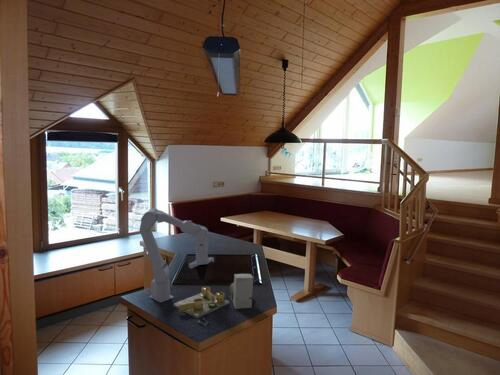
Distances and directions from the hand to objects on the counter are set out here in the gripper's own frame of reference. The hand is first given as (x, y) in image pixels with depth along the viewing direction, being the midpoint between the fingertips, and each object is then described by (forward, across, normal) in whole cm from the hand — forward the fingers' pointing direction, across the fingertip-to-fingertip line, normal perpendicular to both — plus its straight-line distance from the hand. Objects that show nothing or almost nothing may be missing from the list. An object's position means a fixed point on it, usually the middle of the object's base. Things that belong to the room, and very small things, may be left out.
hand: (201, 278), depth 174 cm
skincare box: (+10, +8, -20) cm, 24 cm away
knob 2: (+8, 0, -5) cm, 10 cm away
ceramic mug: (+10, +12, -13) cm, 21 cm away
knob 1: (+8, -13, -8) cm, 17 cm away
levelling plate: (+10, -5, -6) cm, 12 cm away
